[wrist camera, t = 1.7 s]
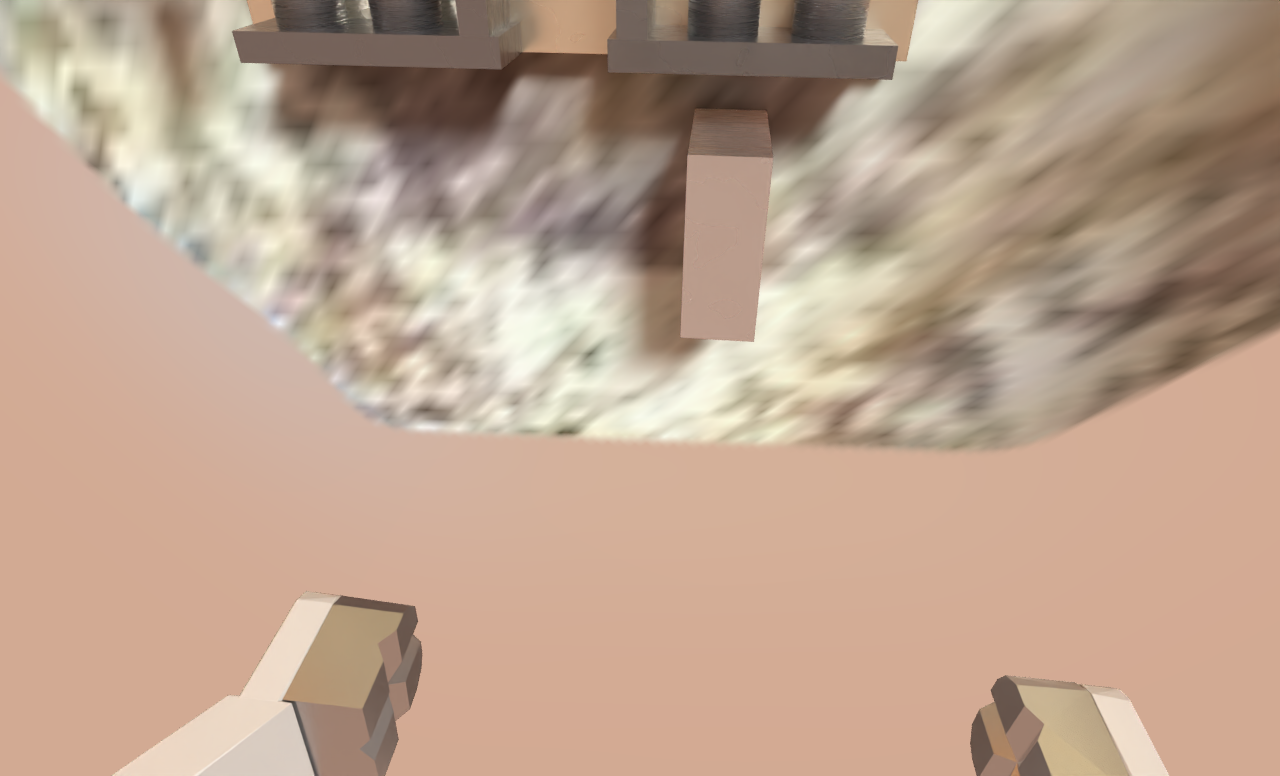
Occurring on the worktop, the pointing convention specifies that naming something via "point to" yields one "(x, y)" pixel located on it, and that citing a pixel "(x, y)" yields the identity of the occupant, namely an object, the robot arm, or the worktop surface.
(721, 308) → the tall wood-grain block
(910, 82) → the worktop surface
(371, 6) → the metal roller rack
